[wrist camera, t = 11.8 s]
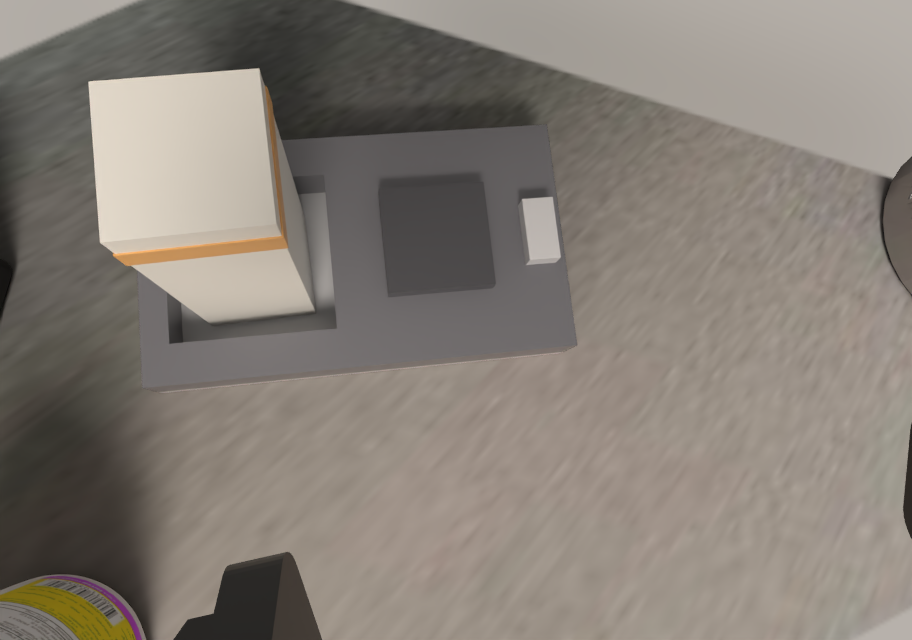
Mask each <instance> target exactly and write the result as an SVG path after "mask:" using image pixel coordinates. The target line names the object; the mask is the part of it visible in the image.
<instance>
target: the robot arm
mask: <svg viewBox="0 0 912 640" xmlns="http://www.w3.org/2000/svg"><path fill="white" fill-rule="evenodd" d="M883 227H884V236H885V243H886V246H887V250H888V253H889V256H890V259H891V262H892V264H893V266H894V268H895V270H896V272H897V274H898V276H899V278H900V279H901V281H902V283H903V284H904V285H905V287H906V288H907V289H908V290H909V292H910V293H911V294H912V157H911V158H910V159H909V160H908V161H907V162H906V163H905V164H903V166H901V168H900V169H899V171H898V172H897V174H896V176H895V177H894V179H893V180H892V182H891V184H890V187H889V190H888V193H887V196H886V199H885V205H884V215H883ZM903 512H904V519H905V523H906V526H907V529H908V532H909V534H910V537H911V538H912V424H911V429H910V440H909V451H908V462H907V473H906V484H905V494H904V505H903ZM174 640H322V638H321V635H320V632H319V629H318V626H317V623H316V620H315V617H314V615H313V612H312V609H311V606H310V603H309V600H308V597H307V594H306V591H305V588H304V585H303V582H302V579H301V576H300V573H299V570H298V567H297V565H296V562H295V560H294V558H293V556H292V555H291V554H290V553H289V552H285V553H281V554H276V555H272V556H267V557H263V558H258V559H254V560H249V561H245V562H241V563H236V564H232V565H229V566H227V567H226V569H225V571H224V573H223V577H222V581H221V585H220V589H219V593H218V598H217V602H216V606H215V610H214V614H210V615H206V616H202V617H197V618H193V619H188V620H187V621H186V623H185V624H184V626H183V627H182V628H181V630H180V631H179V633H178V634H177V635H176V637H175V638H174Z"/></svg>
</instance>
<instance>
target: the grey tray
mask: <svg viewBox="0 0 912 640" xmlns="http://www.w3.org/2000/svg"><path fill="white" fill-rule="evenodd" d="M281 141H282V144H283V148H284V151H285V154H286V157H287V161H288V164H289V167H290V170H291V174H292V177H293V180H294V183H295V187H296V190H297V193H298V196H299V200H300V203H301V206H302V210H303V213H304V216H305V222H306V231H307V239H308V248H309V256H310V265H311V273H312V282H313V290H314V299H315V307H316V314H308V315H300V316H292V317H283V318H275V319H267V320H259V321H251V322H243V323H234V324H226V325H218V326H212V325H211V324H210V323H208V322H207V321H206V320H204V319H203V318H201V317H200V316H199V315H197V314H196V313H195V312H193V311H192V310H191V309H189V308H188V307H187V306H185V305H184V304H182V303H181V302H180V301H178V300H177V299H176V298H174V297H173V296H172V295H170V294H169V293H168V292H166V291H165V290H163V289H162V288H161V287H159V286H158V285H157V284H155V283H154V282H153V281H151V280H150V279H149V278H147V277H146V276H145V275H143V274H142V273H140V272H139V271H138V270H137V280H138V303H139V326H140V349H141V372H142V388H144V389H148V390H152V391H156V392H160V393H168V392H178V391H188V390H198V389H208V388H218V387H228V386H238V385H248V384H258V383H268V382H278V381H288V380H298V379H308V378H318V377H328V376H338V375H348V374H358V373H368V372H378V371H388V370H398V369H408V368H418V367H428V366H438V365H448V364H458V363H468V362H478V361H488V360H498V359H508V358H518V357H528V356H538V355H548V354H558V353H562V352H564V351H566V350H568V349H571V348H573V347H575V346H577V340H576V333H575V325H574V318H573V311H572V304H571V296H570V289H569V282H568V275H567V268H566V260H565V253H564V246H563V239H562V231H561V224H560V217H559V210H558V202H557V195H556V188H555V181H554V173H553V166H552V159H551V152H550V144H549V137H548V130H547V124H546V125H529V126H512V127H495V128H478V129H461V130H444V131H427V132H410V133H393V134H377V135H360V136H343V137H326V138H309V139H292V140H281Z"/></svg>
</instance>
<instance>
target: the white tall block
mask: <svg viewBox="0 0 912 640" xmlns="http://www.w3.org/2000/svg"><path fill="white" fill-rule="evenodd" d="M88 83H89V96H90V110H91V124H92V138H93V151H94V165H95V179H96V193H97V207H98V220H99V234H100V243H101V244H102V245H104V246H105V247H107V248H108V249H109V250H111V251H112V252H113V256H114V257H115V258H117V259H118V260H119V261H121V262H122V263H123V264H125V265H126V266H132V267H134V268H135V269H136V270H138V271H139V272H140V273H142V274H143V275H145V276H146V277H147V278H149V279H150V280H151V281H153V282H154V283H155V284H157V285H158V286H159V287H161V288H162V289H163V290H165V291H166V292H168V293H169V294H170V295H172V296H173V297H174V298H176V299H177V300H178V301H180V302H181V303H182V304H184V305H185V306H187V307H188V308H189V309H191V310H192V311H193V312H195V313H196V314H197V315H199V316H200V317H201V318H203V319H204V320H206V321H207V322H208V323H210V324H211V325H212V326H218V325H226V324H234V323H243V322H251V321H259V320H267V319H275V318H283V317H292V316H300V315H308V314H316V307H315V299H314V290H313V282H312V273H311V265H310V256H309V248H308V239H307V231H306V222H305V216H304V213H303V210H302V206H301V203H300V200H299V196H298V193H297V190H296V187H295V183H294V180H293V177H292V174H291V170H290V167H289V164H288V161H287V157H286V154H285V151H284V148H283V144H282V141H281V138H280V135H279V131H278V128H277V125H276V122H275V118H274V115H273V106H272V101H271V98H270V94H269V91H268V88H267V86H264V82H263V79H262V76H261V73H260V69H259V68H256V69H244V70H231V71H218V72H205V73H192V74H179V75H166V76H154V77H141V78H128V79H115V80H102V81H89V82H88Z"/></svg>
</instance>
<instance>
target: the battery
mask: <svg viewBox="0 0 912 640" xmlns="http://www.w3.org/2000/svg"><path fill="white" fill-rule="evenodd" d="M11 275H12V268H11V266H10V265H9V264H8V263H7V262H5V261H4V260H2V259H0V311H1V308H2V304H3V301H4V298H5V295H6V291H7V288H8V285H9V282H10V278H11Z"/></svg>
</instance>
